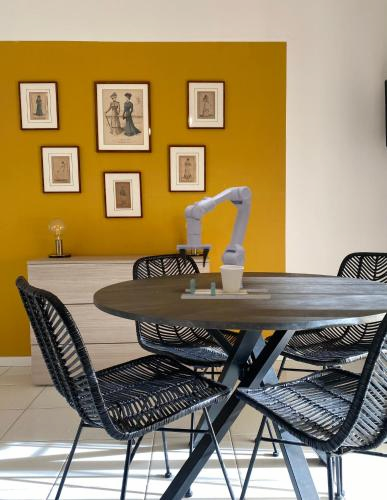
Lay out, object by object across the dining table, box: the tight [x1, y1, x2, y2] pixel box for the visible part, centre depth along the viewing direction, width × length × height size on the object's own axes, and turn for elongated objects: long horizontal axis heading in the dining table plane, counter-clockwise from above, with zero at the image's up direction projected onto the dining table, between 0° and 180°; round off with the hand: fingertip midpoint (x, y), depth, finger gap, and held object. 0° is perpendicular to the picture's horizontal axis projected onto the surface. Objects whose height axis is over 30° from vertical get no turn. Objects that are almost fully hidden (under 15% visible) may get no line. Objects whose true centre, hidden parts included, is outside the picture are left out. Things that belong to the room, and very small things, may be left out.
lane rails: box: [180, 282, 272, 300], centre depth 200 cm, size 17×34×6 cm, turn 85°
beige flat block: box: [189, 279, 248, 294], centre depth 202 cm, size 11×23×6 cm, turn 85°
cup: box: [219, 264, 245, 293], centre depth 202 cm, size 10×10×11 cm
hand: (194, 267), depth 208 cm, fingers open, 7 cm apart
